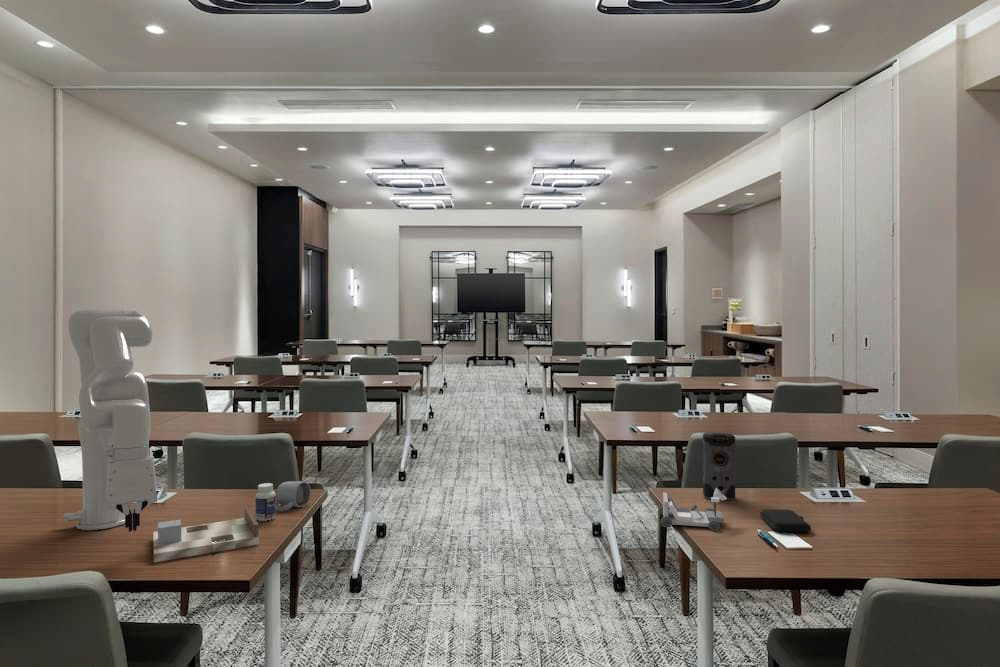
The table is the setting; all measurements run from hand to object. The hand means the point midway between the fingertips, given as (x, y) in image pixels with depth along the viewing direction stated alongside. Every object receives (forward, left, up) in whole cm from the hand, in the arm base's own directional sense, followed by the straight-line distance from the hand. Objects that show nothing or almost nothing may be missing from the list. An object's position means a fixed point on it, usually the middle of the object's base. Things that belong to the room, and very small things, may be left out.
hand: (132, 529), depth 147 cm
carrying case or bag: (+154, -67, -7) cm, 168 cm away
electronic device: (+160, -39, -6) cm, 165 cm away
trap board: (+16, +1, -6) cm, 17 cm away
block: (+8, +1, -4) cm, 9 cm away
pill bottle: (+32, +13, -6) cm, 35 cm away
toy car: (+134, -52, -7) cm, 144 cm away
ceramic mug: (+41, +21, -6) cm, 46 cm away
